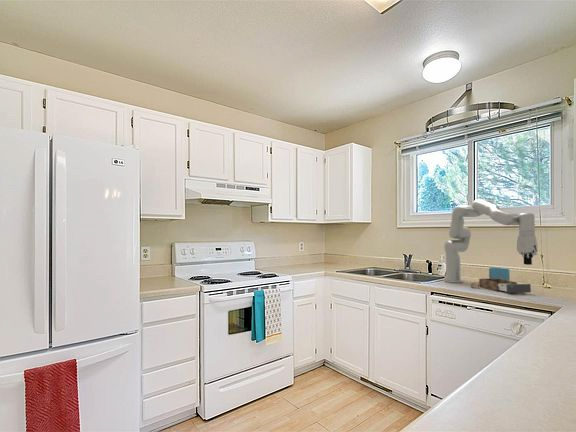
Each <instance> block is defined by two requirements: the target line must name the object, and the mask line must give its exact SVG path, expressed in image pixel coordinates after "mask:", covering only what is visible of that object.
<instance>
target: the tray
mask: <svg viewBox="0 0 576 432" xmlns="http://www.w3.org/2000/svg"><path fill="white" fill-rule="evenodd" d="M501 285H507V287H503V286H501ZM531 285H532V284H531V283H517V284H498V290H502V291H501V292H506V293H509V294H511V293H512V294H514V293H517V294H518V293H519V294H520V293H525V294H526V293H531V291H532V290H531V287H532V286H531Z"/></svg>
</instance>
